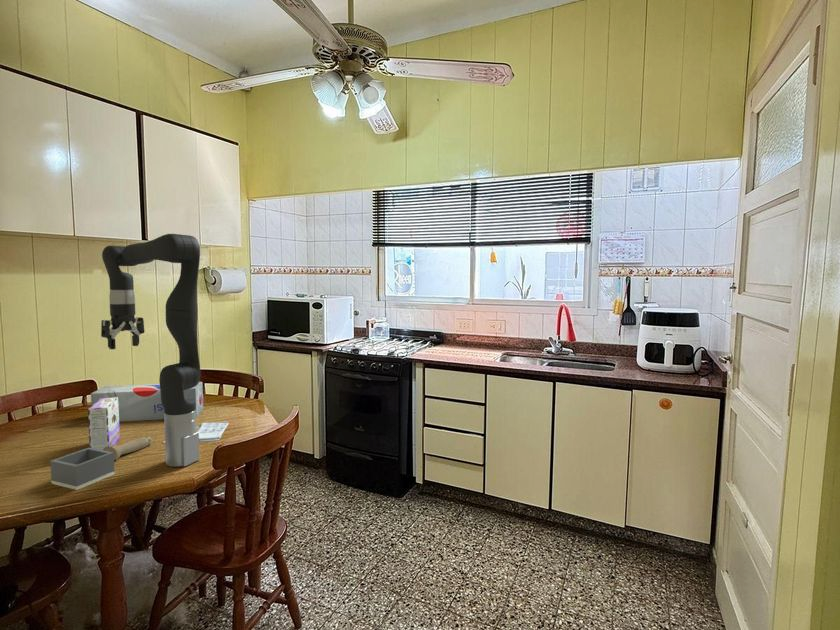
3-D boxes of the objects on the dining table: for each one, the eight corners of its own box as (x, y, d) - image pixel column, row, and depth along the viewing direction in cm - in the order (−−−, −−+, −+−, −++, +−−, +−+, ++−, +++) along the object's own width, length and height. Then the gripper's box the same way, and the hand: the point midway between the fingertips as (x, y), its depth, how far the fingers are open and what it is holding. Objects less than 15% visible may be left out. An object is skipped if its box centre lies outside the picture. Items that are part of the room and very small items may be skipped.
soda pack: (204, 410, 203) (203, 381, 202) (197, 418, 191) (196, 387, 189) (105, 415, 194) (103, 384, 192) (90, 424, 181) (89, 392, 180)
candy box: (102, 440, 163) (100, 397, 162) (120, 439, 165) (118, 396, 164) (89, 455, 150) (86, 408, 149) (109, 452, 153) (107, 406, 151)
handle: (156, 447, 159) (117, 461, 145) (142, 445, 161) (102, 459, 147) (156, 434, 159) (116, 447, 145) (142, 433, 161) (102, 445, 147)
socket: (114, 474, 136) (113, 452, 136) (76, 490, 126) (75, 466, 125) (90, 468, 140) (89, 447, 139) (51, 483, 130) (50, 460, 129)
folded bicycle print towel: (219, 442, 165) (219, 436, 165) (160, 446, 161) (160, 440, 161) (229, 425, 184) (229, 420, 183) (177, 428, 179) (177, 423, 179)
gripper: (110, 303, 147) (112, 351, 149) (148, 301, 161) (150, 345, 162) (94, 303, 150) (96, 349, 151) (133, 301, 163) (135, 344, 165)
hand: (124, 347), depth 157 cm, fingers open, 8 cm apart
